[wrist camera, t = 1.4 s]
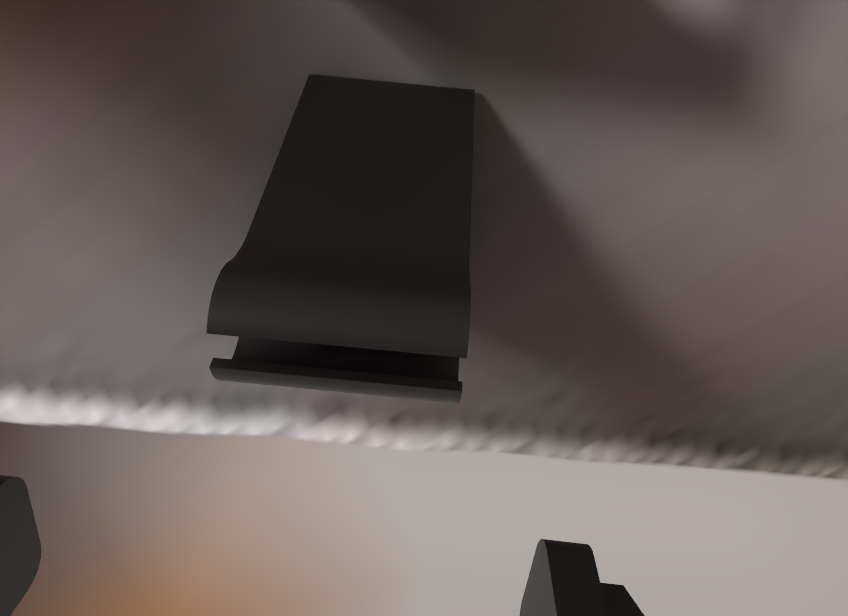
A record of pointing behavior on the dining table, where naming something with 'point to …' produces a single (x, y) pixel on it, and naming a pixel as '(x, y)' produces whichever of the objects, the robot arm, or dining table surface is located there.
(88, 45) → the dining table surface
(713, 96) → the dining table surface
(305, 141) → the phone stand
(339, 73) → the dining table surface
